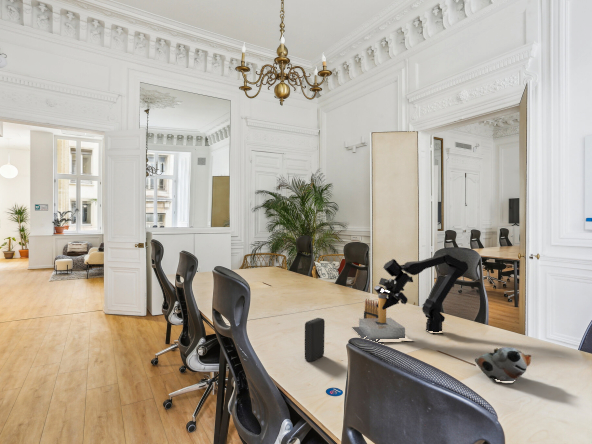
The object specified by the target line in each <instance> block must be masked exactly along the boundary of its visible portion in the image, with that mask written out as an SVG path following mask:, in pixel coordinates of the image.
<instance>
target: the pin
mask: <svg viewBox="0 0 592 444" xmlns="http://www.w3.org/2000/svg"><path fill="white" fill-rule="evenodd" d="M377 294H378V293H377ZM386 298H388V295H387V294H382V293H381V294H378V297H377V299H378V300H379V301H377V304H378V322H380V323H386V318H387V308H386V309H384V310H383V309H382V307H383V305H384V304H385V302H386Z"/></svg>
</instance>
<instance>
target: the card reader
mask: <svg viewBox="0 0 592 444" xmlns="http://www.w3.org/2000/svg"><path fill="white" fill-rule="evenodd" d="M325 327H326V326H325V319H324V318H322V317H316V318H313V319H310V320H307V321H306V322H304V360H305V361H307V362H314V361H316V360H318V359H319V358H321V357H323V356H324V355H325Z"/></svg>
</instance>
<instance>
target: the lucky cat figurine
mask: <svg viewBox="0 0 592 444" xmlns="http://www.w3.org/2000/svg"><path fill="white" fill-rule="evenodd" d="M531 360H532V355H531V354H524V353H523V352H522V350H519V349H517V348H515V347H507V346H504V347H500V348H497V347H496V348H494V349H493V352H487V353H484V354H483V355H480V356H479V357H477V358H474V362H475V364H476V365H477V366H478V368H479V369H480V370H481V372H482V373H483V374H484V375H485V376H487V378H489V379H493V380H494V379H497V380H500V381H514V380H516V381H517V379H518V378H520V377H521V376H523V375H524V374H525V373H526V372H527V368H528V366H530V364H531V362H532V361H531Z"/></svg>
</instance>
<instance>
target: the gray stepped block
mask: <svg viewBox="0 0 592 444" xmlns="http://www.w3.org/2000/svg"><path fill="white" fill-rule="evenodd" d="M352 328H353V329H354V330H355V331H356V332H357V333H358V334H357V333H356V332H355V331H354V330H353V329H352ZM351 329H352V330H353V331H354V332H355V333H356V334H357V336H359V335H360V336H361V337H360V336H359V337H360V339H362V338H364V337H366V336H367V337H366V338H365V339H369V340H372V341H375V342H378V341H379V340H380V339H399V338H405V335H406V327H405V326H403V325H401V323H399V322H398V321H396V320H395V319H393V318H391V317H386V323H380V322H378V318H364V317H363V318H359V319H358V326H352V327H351ZM376 339H378V340H377V341H376ZM378 344H383V343H382V342H381V343H380V342H379V343H378Z"/></svg>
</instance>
